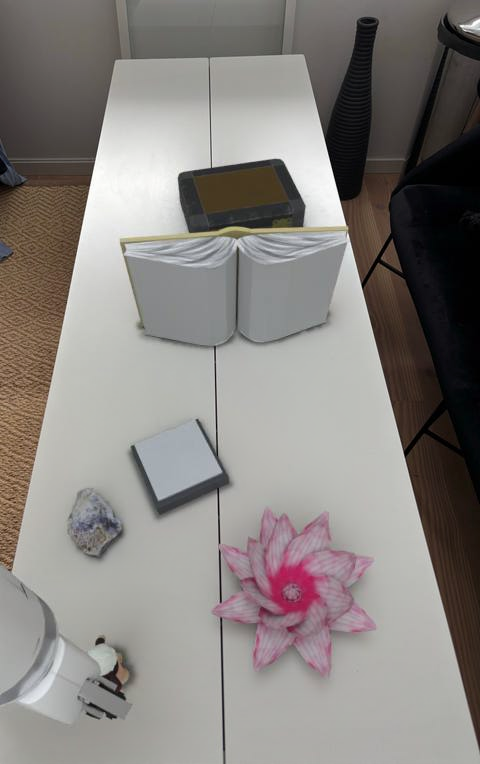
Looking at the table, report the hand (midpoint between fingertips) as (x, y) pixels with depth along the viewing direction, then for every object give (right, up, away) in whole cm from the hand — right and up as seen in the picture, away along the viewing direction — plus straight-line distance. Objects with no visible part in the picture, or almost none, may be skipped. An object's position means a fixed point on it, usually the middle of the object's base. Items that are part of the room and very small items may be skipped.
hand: (62, 675), depth 52 cm
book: (+16, +38, +55) cm, 69 cm away
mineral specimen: (-5, +6, +33) cm, 34 cm away
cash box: (+17, +66, +75) cm, 101 cm away
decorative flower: (+24, -3, +26) cm, 36 cm away
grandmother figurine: (+1, -11, +21) cm, 24 cm away
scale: (+7, +14, +38) cm, 41 cm away
